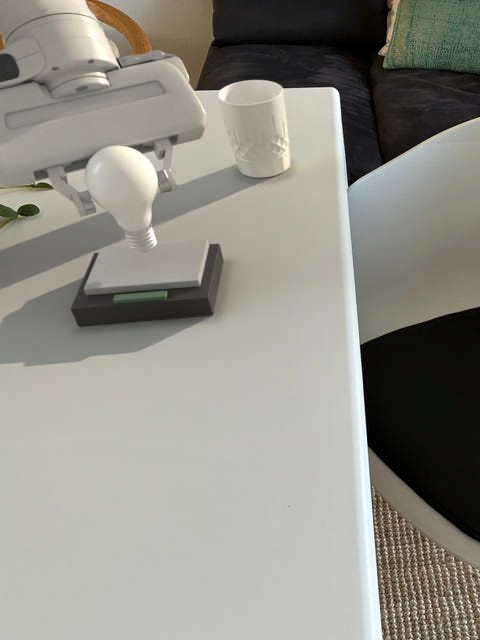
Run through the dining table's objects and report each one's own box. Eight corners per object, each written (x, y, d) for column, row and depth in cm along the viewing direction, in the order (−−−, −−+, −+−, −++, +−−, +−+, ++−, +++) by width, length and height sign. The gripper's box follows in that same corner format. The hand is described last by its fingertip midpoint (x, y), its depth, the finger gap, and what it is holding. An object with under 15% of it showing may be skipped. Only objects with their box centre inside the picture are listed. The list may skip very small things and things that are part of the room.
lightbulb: (188, 236, 81) (160, 136, 74) (159, 270, 76) (126, 167, 69) (131, 230, 82) (98, 131, 75) (99, 264, 77) (60, 161, 70)
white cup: (257, 186, 98) (241, 110, 92) (222, 167, 102) (204, 92, 96) (307, 165, 103) (295, 91, 96) (271, 147, 107) (258, 74, 100)
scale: (78, 326, 77) (67, 302, 75) (100, 269, 84) (91, 246, 82) (213, 315, 78) (206, 290, 76) (223, 260, 86) (217, 236, 84)
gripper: (173, 62, 82) (228, 183, 82) (-42, 108, 73) (20, 243, 73) (177, 30, 76) (236, 160, 76) (-56, 75, 67) (12, 222, 68)
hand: (129, 201), depth 75 cm, fingers closed on lightbulb, 6 cm apart
